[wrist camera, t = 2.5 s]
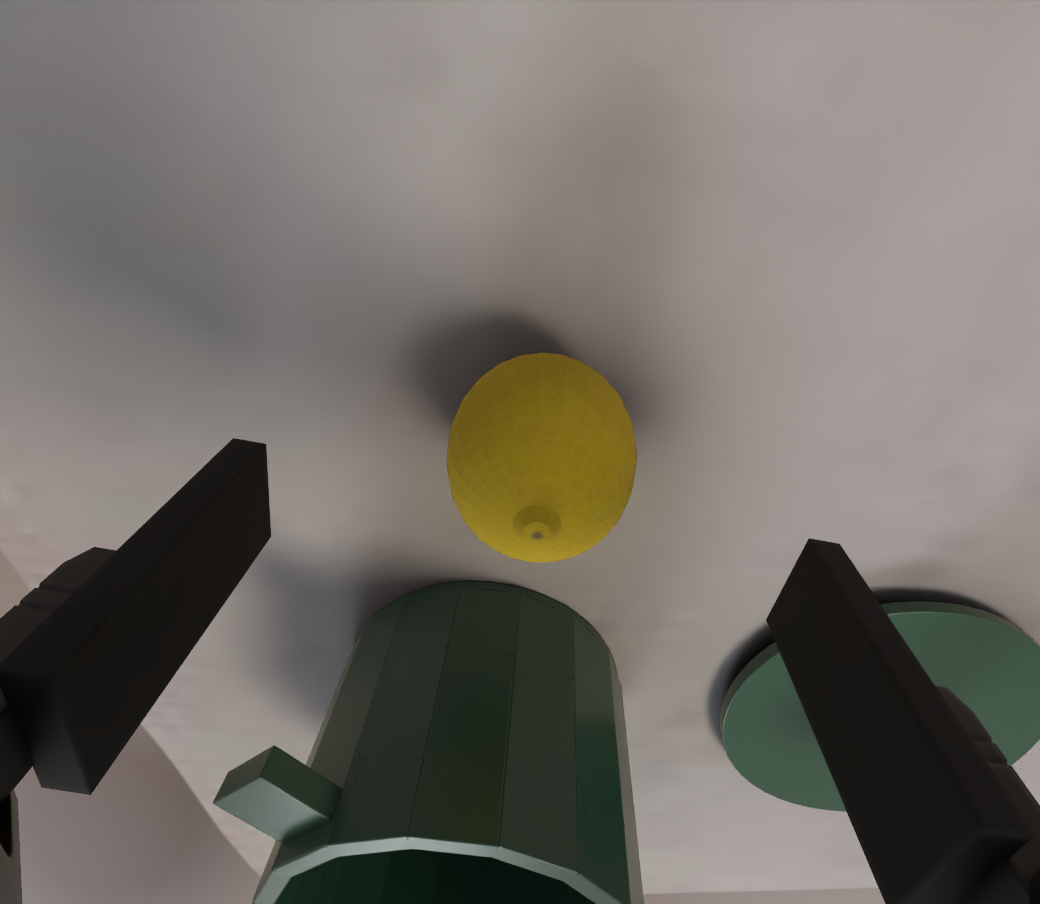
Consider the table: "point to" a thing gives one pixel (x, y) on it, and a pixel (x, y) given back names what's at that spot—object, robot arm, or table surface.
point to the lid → (945, 658)
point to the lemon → (541, 457)
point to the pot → (456, 764)
